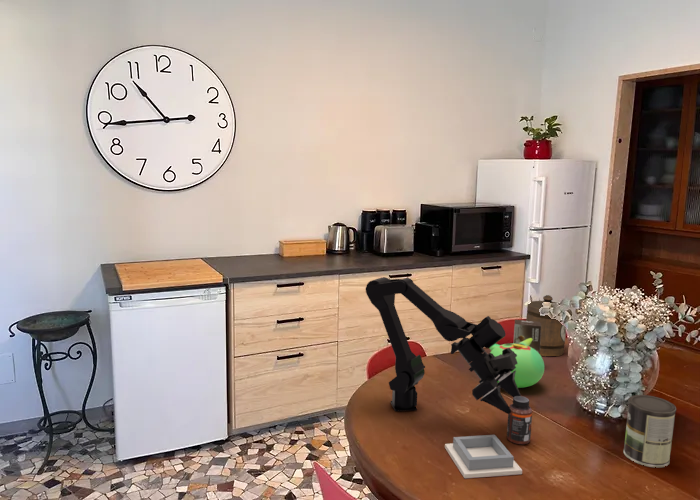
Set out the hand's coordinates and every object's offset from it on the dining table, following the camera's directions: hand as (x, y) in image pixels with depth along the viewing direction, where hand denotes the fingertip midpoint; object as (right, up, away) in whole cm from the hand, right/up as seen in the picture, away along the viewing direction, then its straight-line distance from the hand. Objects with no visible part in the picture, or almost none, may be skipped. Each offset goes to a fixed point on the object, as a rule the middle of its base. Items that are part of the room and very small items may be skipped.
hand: (515, 406), depth 144 cm
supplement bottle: (+1, -9, +1) cm, 9 cm away
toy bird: (+10, -4, +37) cm, 39 cm away
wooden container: (+32, +1, +72) cm, 79 cm away
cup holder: (-11, -10, -10) cm, 18 cm away
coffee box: (+20, -1, +55) cm, 58 cm away
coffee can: (+30, -11, -7) cm, 33 cm away
